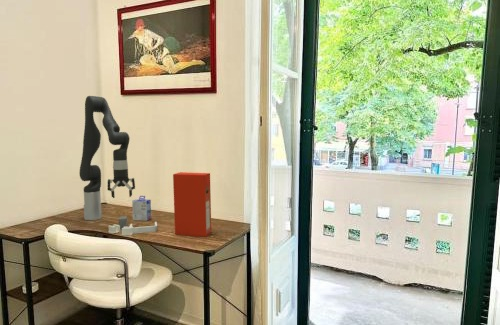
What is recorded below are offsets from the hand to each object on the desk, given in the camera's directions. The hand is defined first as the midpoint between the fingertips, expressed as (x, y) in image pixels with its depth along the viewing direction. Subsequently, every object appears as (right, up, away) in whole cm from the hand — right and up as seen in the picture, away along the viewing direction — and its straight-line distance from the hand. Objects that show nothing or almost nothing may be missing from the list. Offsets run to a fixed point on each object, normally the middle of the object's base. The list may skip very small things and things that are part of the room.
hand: (121, 197), depth 184 cm
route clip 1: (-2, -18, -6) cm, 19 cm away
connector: (-1, -17, +4) cm, 18 cm away
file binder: (+41, -18, -9) cm, 46 cm away
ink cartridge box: (+5, -16, +19) cm, 25 cm away
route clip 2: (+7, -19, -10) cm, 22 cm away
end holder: (+13, -18, -3) cm, 22 cm away
